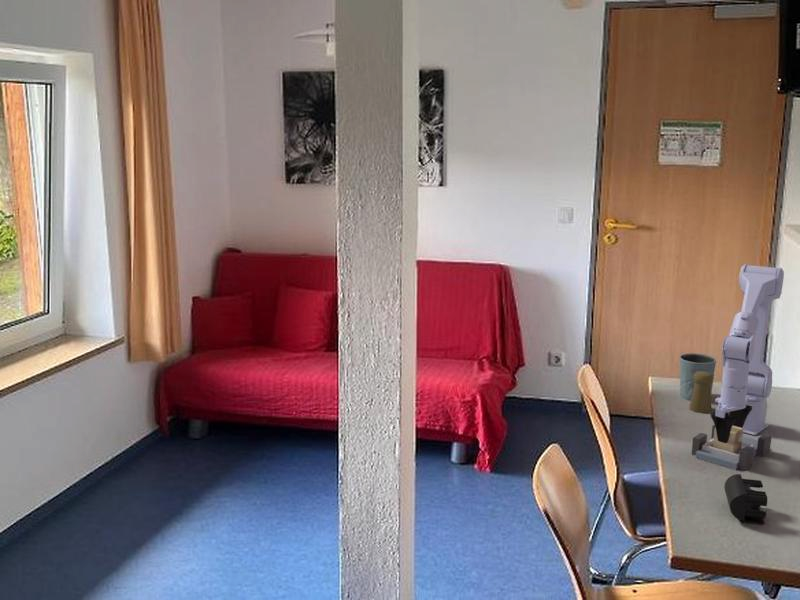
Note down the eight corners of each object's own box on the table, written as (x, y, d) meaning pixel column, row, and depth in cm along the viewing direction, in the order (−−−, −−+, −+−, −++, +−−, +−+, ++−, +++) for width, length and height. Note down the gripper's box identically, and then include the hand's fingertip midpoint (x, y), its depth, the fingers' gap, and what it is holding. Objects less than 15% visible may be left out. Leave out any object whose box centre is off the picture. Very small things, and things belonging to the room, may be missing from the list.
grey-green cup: (714, 403, 242) (718, 364, 239) (678, 400, 244) (681, 361, 241) (710, 392, 251) (713, 354, 248) (675, 389, 254) (678, 351, 251)
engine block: (721, 443, 210) (723, 422, 208) (741, 449, 206) (743, 428, 205) (712, 449, 206) (714, 428, 205) (732, 455, 203) (734, 433, 201)
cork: (713, 413, 234) (716, 376, 231) (690, 412, 235) (693, 375, 232) (709, 406, 239) (713, 369, 237) (687, 404, 241) (691, 368, 238)
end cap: (722, 500, 183) (725, 472, 181) (757, 504, 181) (760, 475, 179) (728, 522, 173) (731, 492, 172) (764, 526, 172) (768, 496, 170)
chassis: (720, 435, 218) (721, 419, 217) (771, 449, 209) (773, 433, 208) (689, 455, 206) (690, 439, 205) (742, 471, 197) (744, 454, 196)
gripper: (730, 374, 210) (725, 425, 213) (705, 388, 200) (700, 441, 203) (759, 380, 205) (753, 432, 208) (734, 395, 195) (729, 449, 198)
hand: (729, 437), depth 205 cm, fingers open, 7 cm apart
